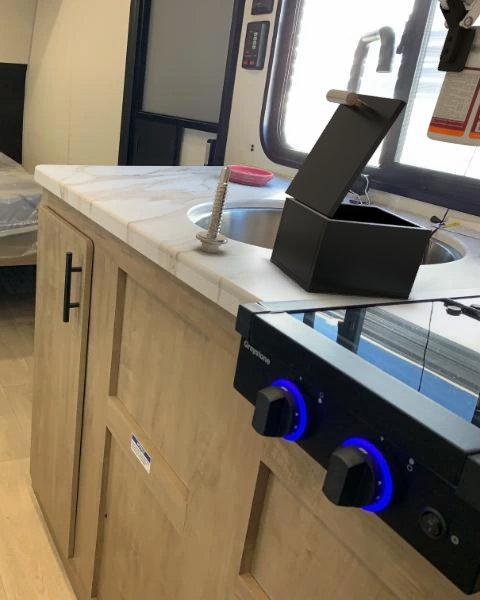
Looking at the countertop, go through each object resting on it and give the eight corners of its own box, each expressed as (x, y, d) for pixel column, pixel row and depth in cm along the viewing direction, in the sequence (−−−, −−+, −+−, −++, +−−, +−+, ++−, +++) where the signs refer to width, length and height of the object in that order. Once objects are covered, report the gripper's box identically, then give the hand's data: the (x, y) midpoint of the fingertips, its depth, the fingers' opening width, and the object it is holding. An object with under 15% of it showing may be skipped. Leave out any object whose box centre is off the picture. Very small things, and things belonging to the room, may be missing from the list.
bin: (358, 268, 92) (378, 206, 89) (408, 300, 81) (432, 230, 77) (269, 260, 90) (285, 197, 87) (307, 292, 79) (328, 220, 75)
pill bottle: (482, 144, 66) (522, 34, 62) (494, 149, 61) (538, 29, 57) (421, 136, 68) (456, 28, 64) (427, 140, 63) (465, 23, 59)
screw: (190, 251, 90) (196, 243, 94) (222, 258, 89) (226, 249, 93) (208, 164, 85) (213, 160, 89) (242, 170, 84) (245, 166, 88)
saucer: (272, 189, 149) (275, 177, 148) (222, 181, 151) (224, 169, 150) (269, 181, 160) (272, 169, 159) (223, 174, 162) (225, 162, 161)
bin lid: (351, 94, 82) (321, 76, 80) (407, 102, 70) (374, 81, 69) (288, 195, 87) (259, 179, 85) (331, 218, 75) (299, 200, 74)
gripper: (497, -159, 51) (426, 67, 58) (669, -126, 53) (582, 87, 60) (439, -135, 58) (382, 64, 64) (594, -106, 60) (523, 83, 67)
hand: (479, 73), depth 62 cm, fingers closed on pill bottle, 6 cm apart
